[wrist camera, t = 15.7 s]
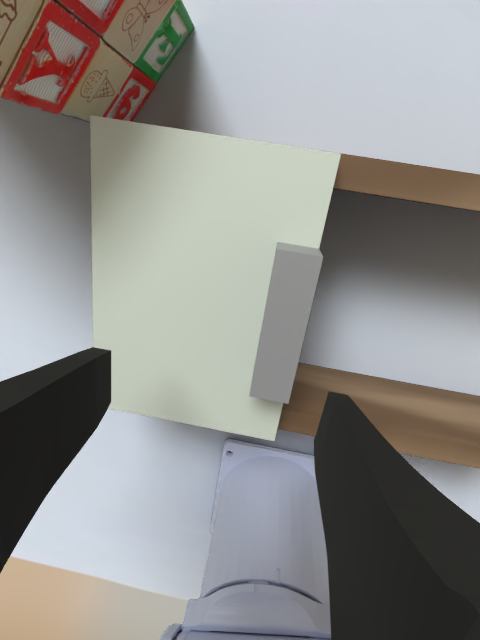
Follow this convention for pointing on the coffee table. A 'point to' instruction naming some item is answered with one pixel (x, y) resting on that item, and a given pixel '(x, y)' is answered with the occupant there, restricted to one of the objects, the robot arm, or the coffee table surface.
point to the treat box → (383, 394)
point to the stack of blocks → (88, 53)
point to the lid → (204, 270)
